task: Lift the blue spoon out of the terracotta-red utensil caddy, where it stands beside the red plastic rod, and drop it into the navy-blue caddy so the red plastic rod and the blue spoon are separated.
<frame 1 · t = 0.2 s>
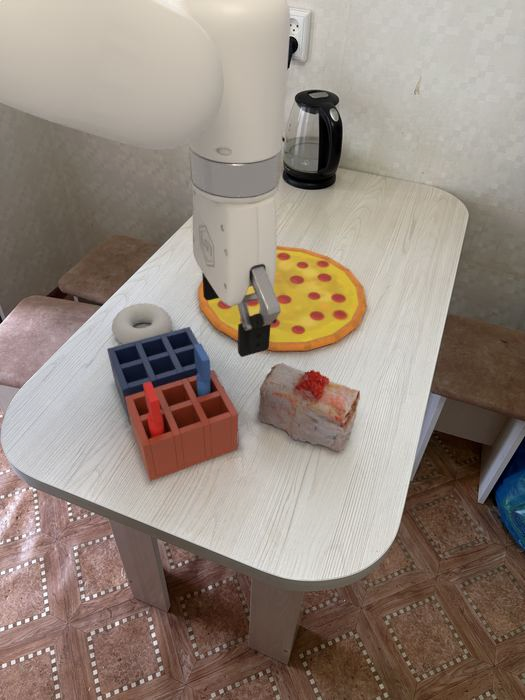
hand: (234, 322, 54), 24 cm above the table, tool pointing down, fingers open, 9 cm apart
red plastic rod: (161, 457, 68), point 1 cm above the table, touching red caddy
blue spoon: (205, 418, 73), point 1 cm above the table, touching red caddy
pizza: (281, 296, 97), on the table
blue caddy: (163, 392, 78), on the table
donut: (143, 333, 88), on the table
food item: (304, 426, 74), on the table
red caddy: (184, 440, 71), on the table
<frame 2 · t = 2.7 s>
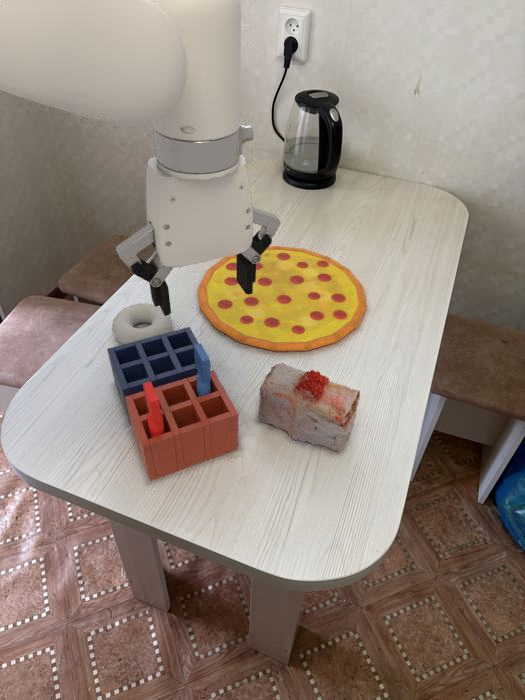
hand: (205, 297, 57), 24 cm above the table, tool pointing down, fingers open, 9 cm apart
nothing on the table moved.
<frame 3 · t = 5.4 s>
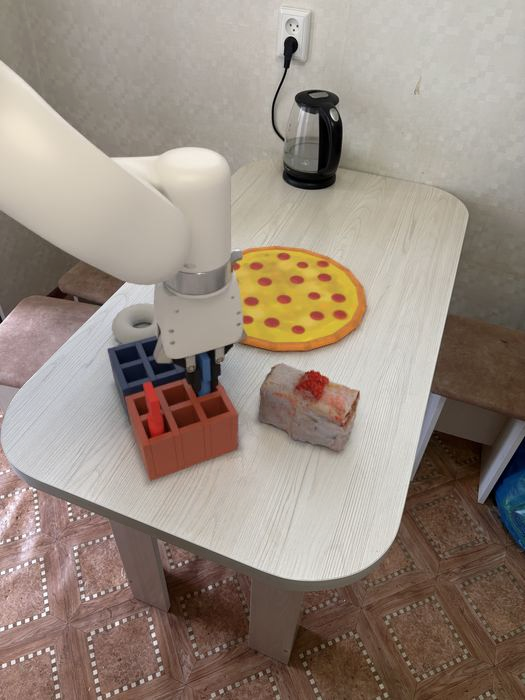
hand: (203, 381, 68), 9 cm above the table, tool pointing down, fingers closed on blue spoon, 1 cm apart
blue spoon: (205, 418, 73), point 1 cm above the table, touching gripper, red caddy
everything else where it was.
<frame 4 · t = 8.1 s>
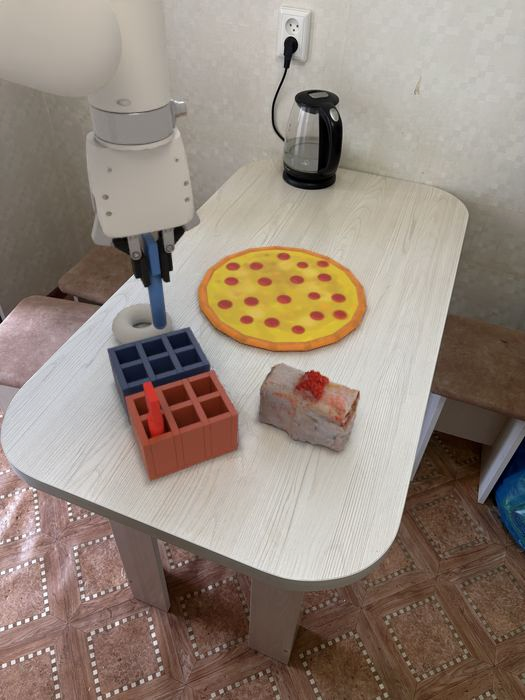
hand: (154, 277, 61), 23 cm above the table, tool pointing down, fingers closed on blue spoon
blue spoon: (160, 327, 66), point 15 cm above the table, touching gripper
everything else where it was.
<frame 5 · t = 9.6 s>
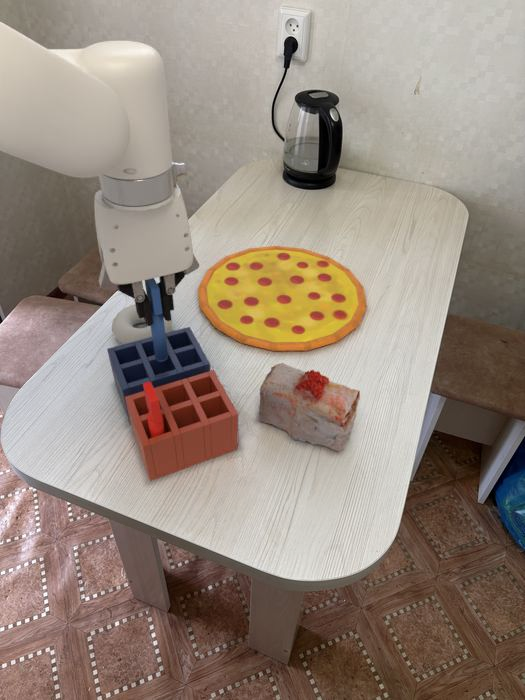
hand: (156, 316, 65), 17 cm above the table, tool pointing down, fingers closed on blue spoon
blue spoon: (162, 360, 71), point 9 cm above the table, touching gripper
everything else where it was.
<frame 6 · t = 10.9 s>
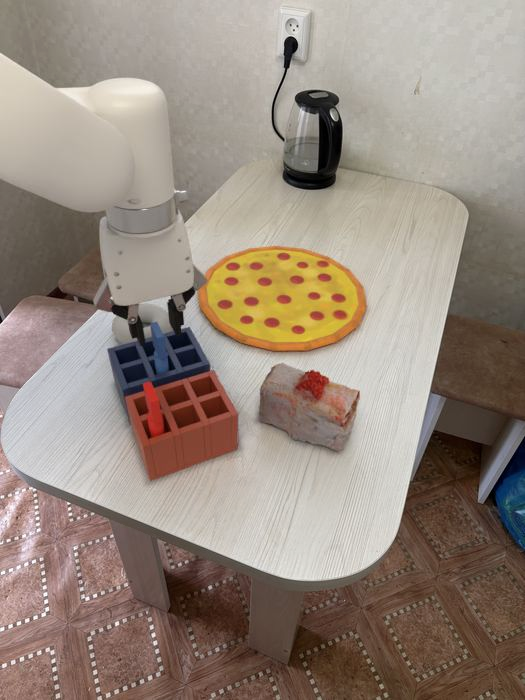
hand: (157, 333, 67), 14 cm above the table, tool pointing down, fingers open, 4 cm apart
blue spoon: (166, 396, 76), point 1 cm above the table, touching blue caddy
everything else where it was.
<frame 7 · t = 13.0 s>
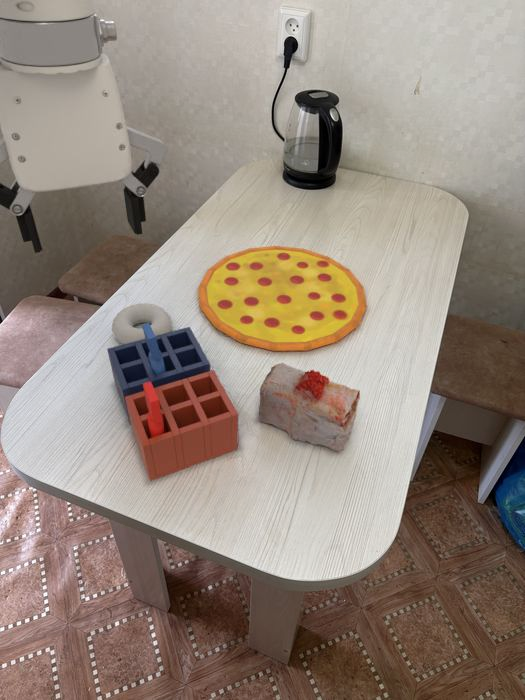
hand: (87, 236, 50), 32 cm above the table, tool pointing down, fingers open, 9 cm apart
nothing on the table moved.
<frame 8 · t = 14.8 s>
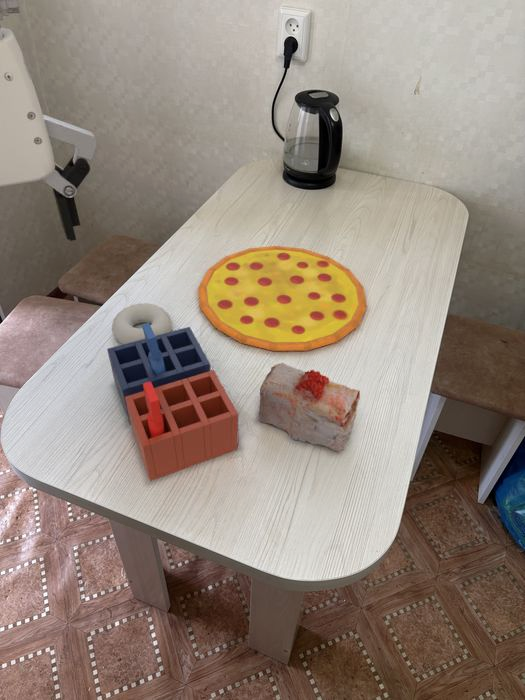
hand: (12, 243, 44), 34 cm above the table, tool pointing down, fingers open, 9 cm apart
nothing on the table moved.
at the end: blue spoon 0.1 cm from the target spot in the blue caddy, point 1.0 cm above the blue caddy's base; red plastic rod moved 0.0 cm from its start; the gripper is holding nothing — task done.
